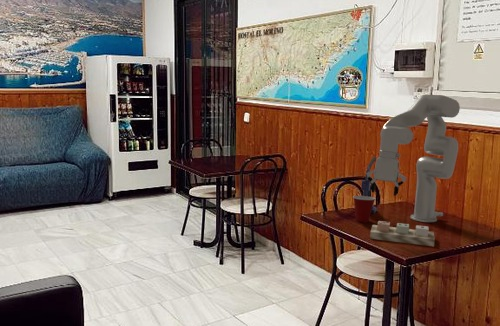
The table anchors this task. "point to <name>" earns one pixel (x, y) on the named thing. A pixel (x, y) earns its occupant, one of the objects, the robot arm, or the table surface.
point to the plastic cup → (363, 207)
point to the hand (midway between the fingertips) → (384, 193)
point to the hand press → (368, 184)
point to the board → (402, 236)
